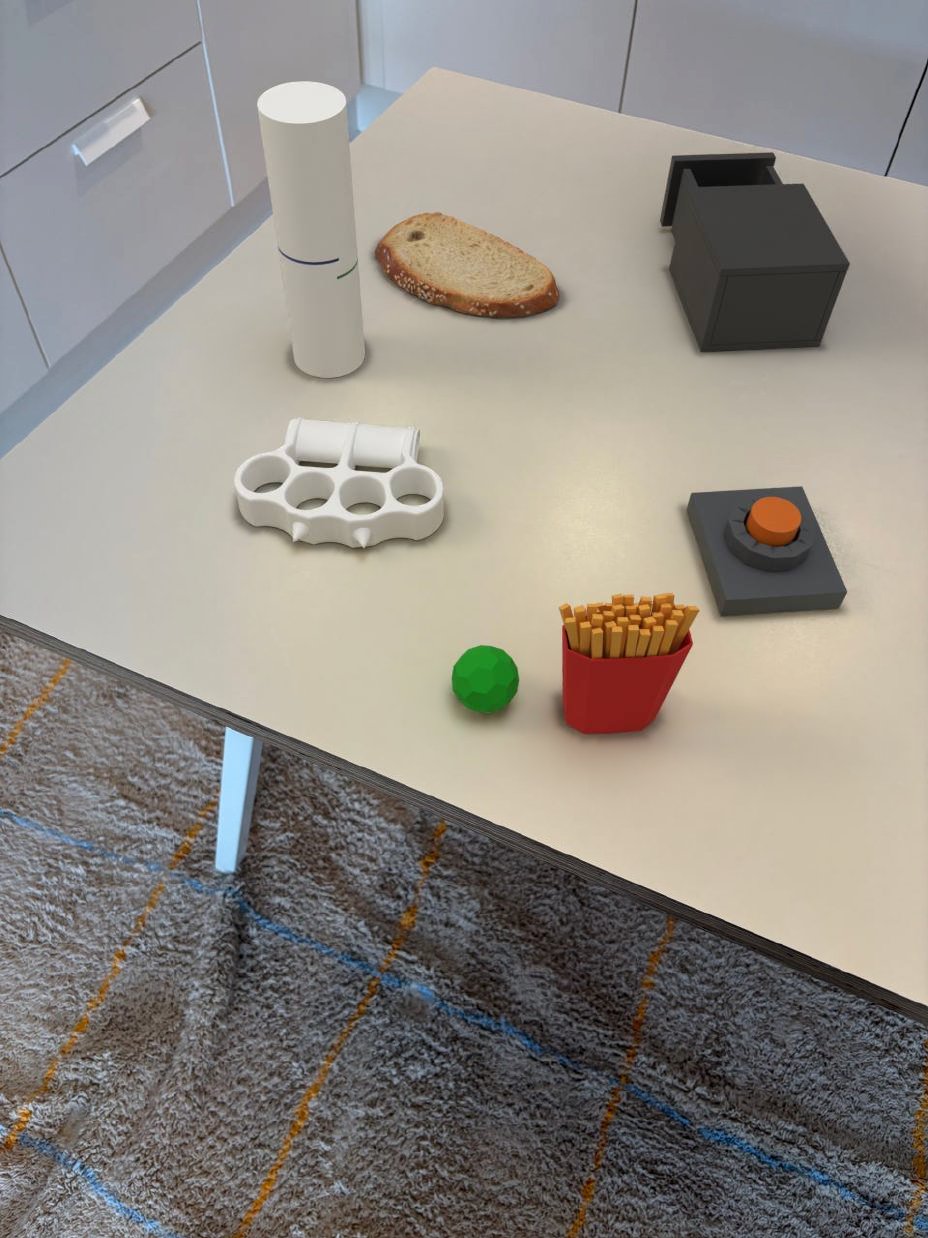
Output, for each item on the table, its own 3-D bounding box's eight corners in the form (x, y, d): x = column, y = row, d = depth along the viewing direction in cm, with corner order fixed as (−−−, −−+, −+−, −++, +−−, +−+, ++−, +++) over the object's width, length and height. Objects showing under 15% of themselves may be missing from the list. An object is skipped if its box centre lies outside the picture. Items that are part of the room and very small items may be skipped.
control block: (685, 509, 88) (695, 477, 85) (795, 503, 89) (808, 470, 86) (720, 617, 81) (731, 585, 78) (839, 608, 82) (855, 577, 78)
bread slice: (567, 311, 105) (571, 280, 102) (401, 334, 102) (400, 303, 99) (520, 220, 116) (523, 189, 113) (368, 238, 113) (366, 208, 110)
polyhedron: (519, 722, 74) (524, 687, 70) (454, 726, 74) (455, 691, 70) (512, 667, 77) (516, 631, 74) (449, 671, 77) (450, 634, 73)
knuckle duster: (454, 448, 92) (436, 568, 83) (262, 432, 93) (224, 549, 84) (454, 420, 90) (436, 541, 81) (257, 404, 90) (217, 522, 81)
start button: (740, 512, 83) (745, 497, 82) (787, 509, 83) (793, 494, 82) (753, 548, 81) (759, 533, 79) (801, 545, 81) (808, 530, 79)
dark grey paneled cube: (668, 269, 110) (685, 187, 103) (778, 264, 111) (803, 182, 104) (700, 352, 102) (721, 268, 94) (819, 346, 103) (850, 263, 95)
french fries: (659, 683, 77) (693, 575, 66) (670, 731, 74) (707, 626, 64) (541, 689, 76) (557, 581, 66) (548, 738, 74) (566, 633, 63)
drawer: (651, 201, 117) (663, 135, 111) (745, 198, 118) (762, 132, 112) (686, 290, 107) (702, 223, 100) (789, 285, 107) (811, 219, 101)
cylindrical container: (284, 342, 101) (246, 89, 81) (351, 326, 103) (329, 75, 83) (306, 385, 97) (271, 130, 77) (375, 367, 99) (358, 113, 79)
